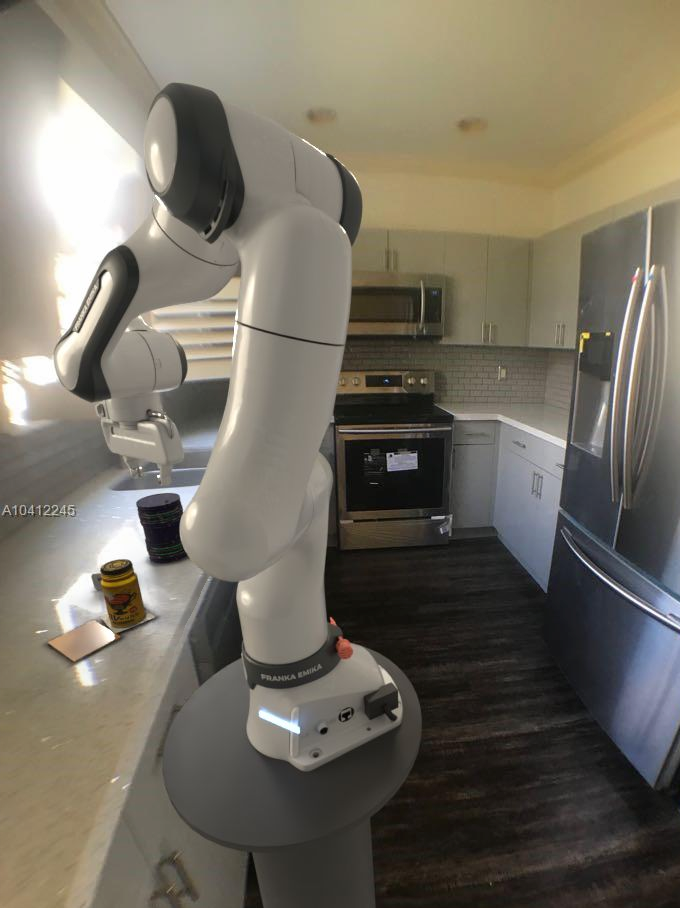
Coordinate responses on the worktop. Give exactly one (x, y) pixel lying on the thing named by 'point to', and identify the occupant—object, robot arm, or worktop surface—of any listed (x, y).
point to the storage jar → (162, 527)
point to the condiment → (122, 596)
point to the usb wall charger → (97, 578)
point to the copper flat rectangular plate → (84, 640)
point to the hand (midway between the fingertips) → (151, 480)
